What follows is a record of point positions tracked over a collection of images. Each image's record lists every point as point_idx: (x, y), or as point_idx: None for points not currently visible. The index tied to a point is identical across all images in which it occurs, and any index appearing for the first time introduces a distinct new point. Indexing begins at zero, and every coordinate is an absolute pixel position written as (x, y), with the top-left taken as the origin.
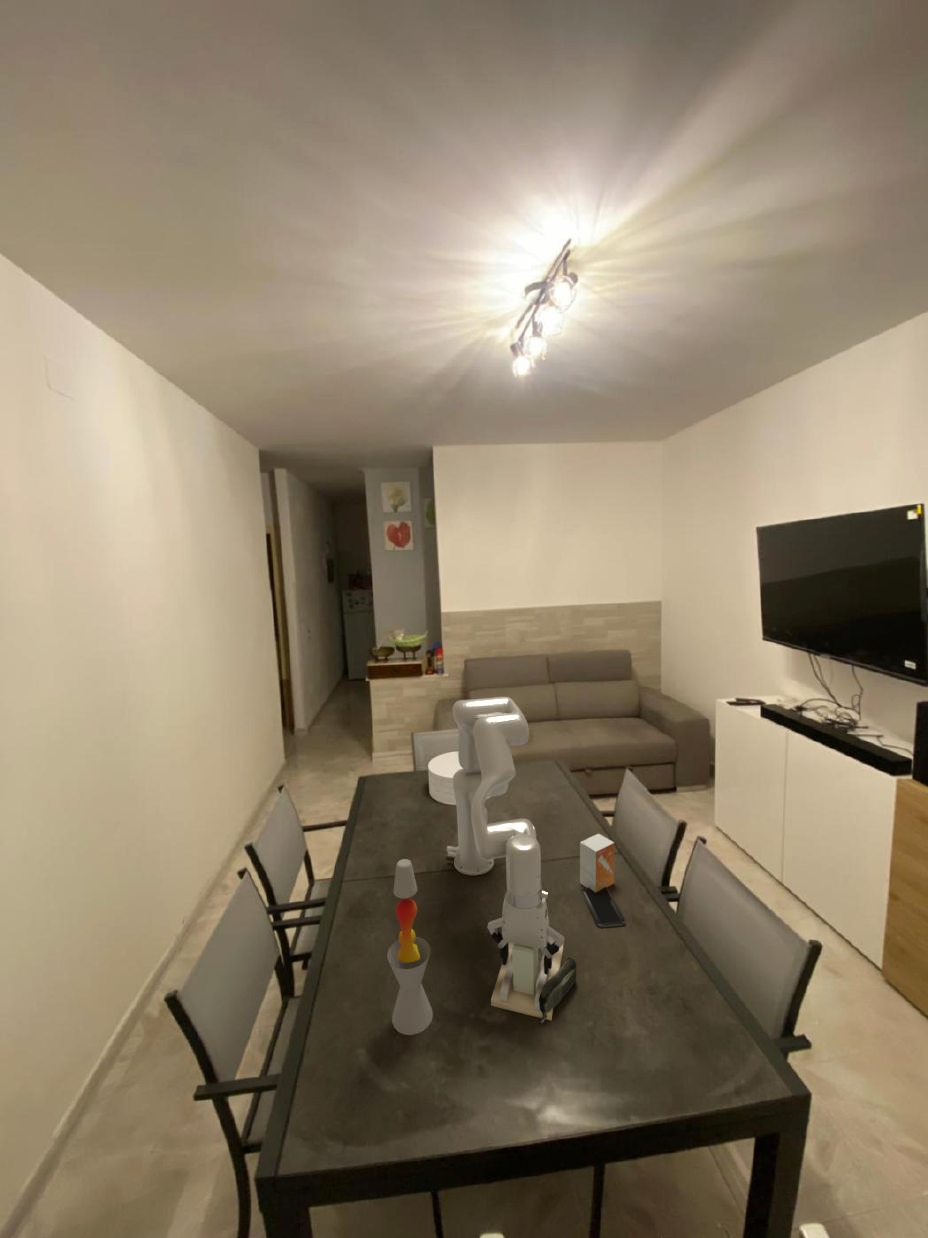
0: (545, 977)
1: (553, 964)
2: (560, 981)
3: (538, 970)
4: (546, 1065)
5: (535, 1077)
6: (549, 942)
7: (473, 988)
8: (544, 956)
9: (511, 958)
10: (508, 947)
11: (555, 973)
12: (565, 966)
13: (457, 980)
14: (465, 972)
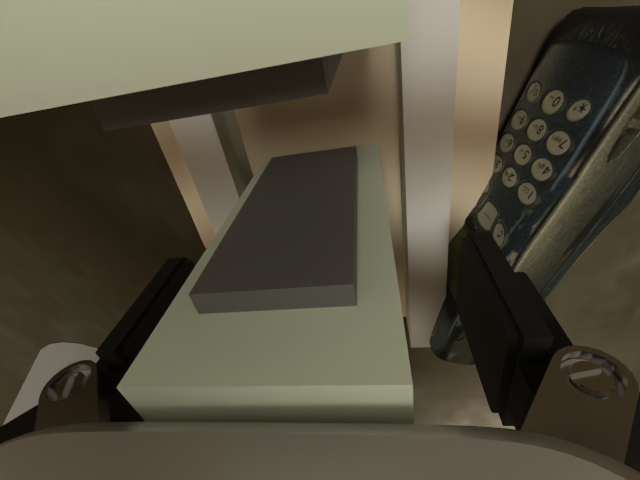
0: (443, 229)
1: (463, 17)
2: (558, 281)
3: (378, 150)
4: (464, 391)
5: (440, 412)
6: (621, 462)
7: (151, 270)
8: (499, 408)
9: (199, 175)
10: (160, 301)
11: (484, 98)
12: (618, 162)
13: (81, 261)
14: (70, 222)
